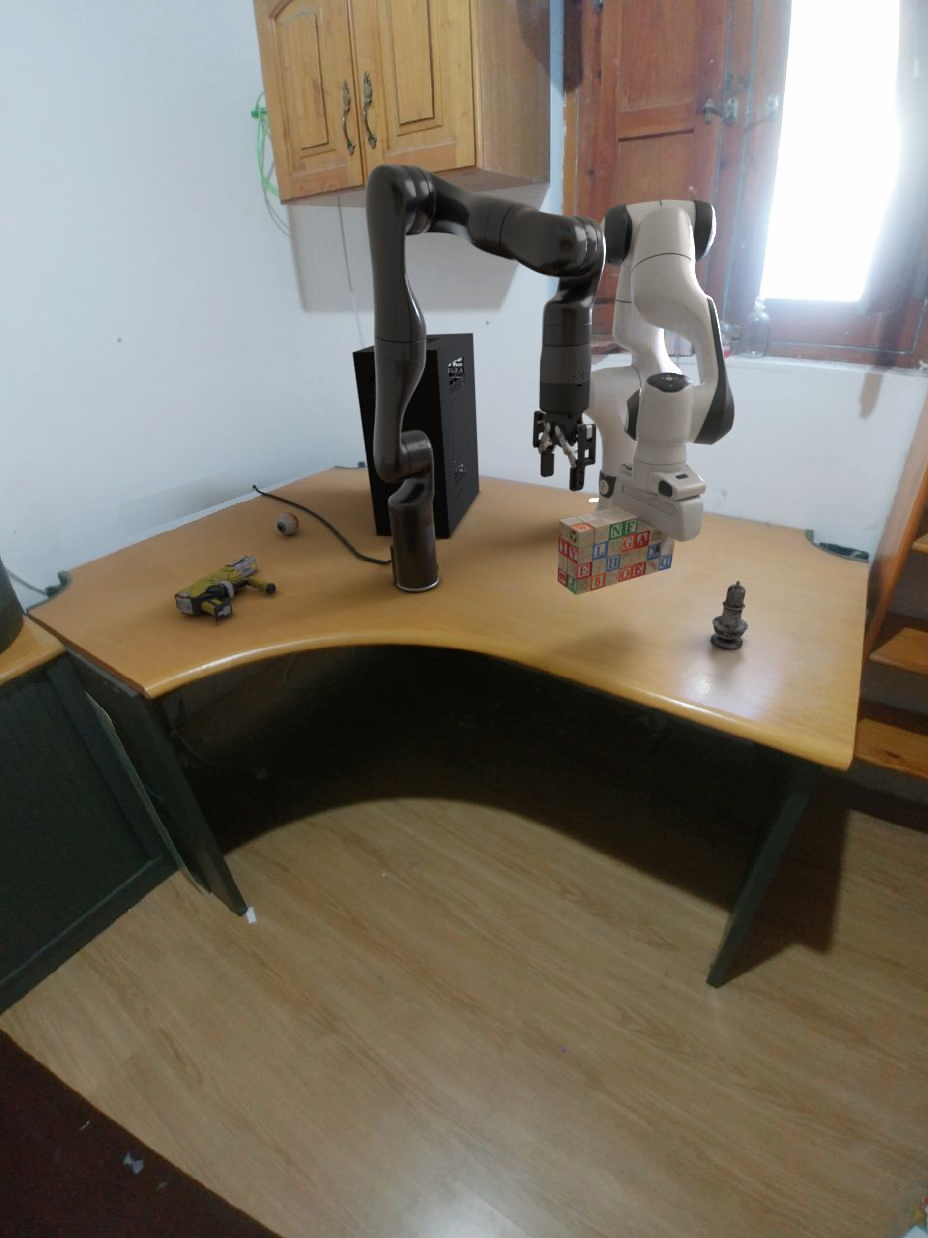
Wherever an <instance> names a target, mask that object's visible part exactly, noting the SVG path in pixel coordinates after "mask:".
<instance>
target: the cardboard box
mask: <svg viewBox="0 0 928 1238" xmlns="http://www.w3.org/2000/svg"><path fill="white" fill-rule="evenodd" d="M351 354H352V361H353V367H354V376H355V384H356V391H357V399H358V406H359V407H358V408H359V415H360V421H361V428H362V436H363V444H364V452H365V458H366V459H365V461H366V466H367V474H368V481H369V489H370V496H371V503H372V504H371V505H372V511H373V518H374V519H373V520H374V527H375V535H376V536H392V533H391V525H390V516H389V508H388V500H389V498H390V496H391V495H392V494H394V493H395V492H396V491H397V490H398V489H399V488H400V487H401V486H402V484H403V483H404V481H405V480H403V481H400V482H395V483H387V482H385V481H383V480H382V479H381V478H380V476H379V475H378V473H377V470H376V467H375V462H374V428H375V414H376V369H375V352H374V344H373V345H370V346H367V347H364V348H361V349H358V350H355V351H352V352H351ZM475 371H476V370H475V346H474V333H473V332H462V333H434V334H433V333H432V334H426V362H425V367H424V371H423V374H422V376H421V378H420V381H419V383H418V385H417V387H416V388H415V390H414V392H413V394H412V396H411V398H410V400H409V402H408V404H407V406H406V409H405V412H404V416H403V421H402V429H401V432H403V431H407V430H412V429H418V430H421V431H422V432H424V433H425V434H426V436H427V437H428V439H429V441H430V444H431V447H432V452H433V462H434V498H433V501H432V506H433V518H434V530H435V538H446V539H447V538H448V539H450V538H451V536H452V535H453V533H454V532H455V530H456V528H457V527H458V525H459V524H460V523H461V521H462V520H463V518H464V516H465V514H466V513H467V512H468V510H469V508H470V507H471V505H472V504H473V502H474V501H475V499H476V498H477V496H478V494H479V493H480V474H479V471H480V470H479V450H478V449H479V445H478V424H477V423H478V422H477V421H478V419H477V398H476V397H477V396H476V374H475V373H476V372H475Z"/></svg>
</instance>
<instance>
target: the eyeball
mask: <svg viewBox="0 0 928 1238" xmlns="http://www.w3.org/2000/svg"><path fill="white" fill-rule="evenodd" d="M299 525H300V522H299V519H298V517H297V516H296V515H295V514H294V513H292V512H287V511H286V512H282V513H280V514H279V515H278V516H277V517H276V520H275V527H276V529H277V530H278V531H279V532H280V533H281V534H282V535H285V536H286V535H287V536H289V535H293V534H295V533H296V532H297V531H298V529H299Z"/></svg>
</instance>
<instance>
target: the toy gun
mask: <svg viewBox="0 0 928 1238" xmlns="http://www.w3.org/2000/svg"><path fill="white" fill-rule="evenodd" d="M254 563H255V567H252V566H251V565H252V564H254ZM256 571H258V564H257V559H256V557H255V556H253V555H250V556H249V555H248V554H244V555H243V556H241V557H240V558H238V559H236V560H234V561H232V562H231V563H229V564H227V563H226V564H225V565H224V566H222V567H220V568H218V569H216V570H214V571H213V572H211V573H210V574H208V575H206V576H204V577H202V578H200V579H199V580H197V581H194V582H193V583H191V584H190V585H188V586H186V587H184V588H183V589H180V590H179V591H177V592H175V594H174V595H173V596H174V600H175V606H176V609H177V610H178V611H179V612H180V613H181V615H186V616H190V615H201V614H205V613H209V614H210V615H212V616H214V618H215V622H221V621H222V620H225V619H226V618H228V617H230V616H232V615H234V612H233V611H234V610H233V605H232V601H231V600H232V599H233V598H234V596H235V593H236V592H238V591H240V590H243V589H245V587H251V588H253V589H256V590H259V591H261V592H262V593H264V592H265V593H266V594H267V595H273V594H275V593H276V592H277V585H275V583H273V582H269V581H266V580H263V579H260V578H258V577H256V576H254V575H252V576H250V575H251V574H252V573H254V572H256ZM248 576H249V577H248ZM246 577H248V578H246Z"/></svg>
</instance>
